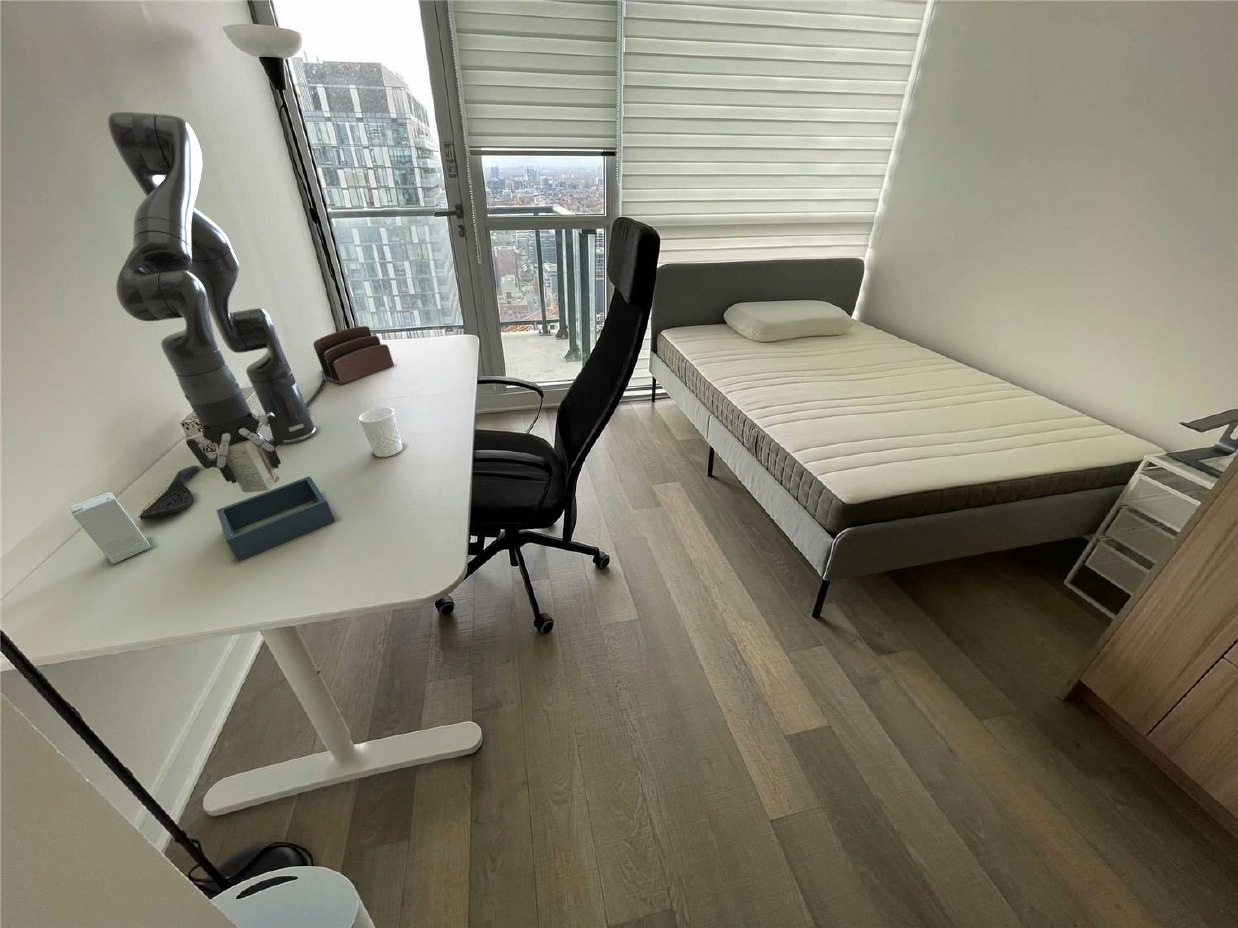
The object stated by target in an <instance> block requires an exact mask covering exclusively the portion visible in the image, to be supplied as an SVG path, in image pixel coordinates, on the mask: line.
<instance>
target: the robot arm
mask: <svg viewBox="0 0 1238 928" xmlns="http://www.w3.org/2000/svg"><path fill="white" fill-rule="evenodd" d="M107 128H108V131H109V135H110V137H111V140H112V142H113V144H114V146H115V148H116V151H117V152H118V155H119V156H120V158H121V160H122V161H123V163H124V164H125V166H126V167H127V169H128V171H129V173H130V174H131V175H132V177H133V178H134V180H135V181H136V184H137V185H138V186H139V188H140V189H141V191H142V192H143V194H144V195H145V198H143V200H142V201H141V202H140V203H139V205H138V207H137V208H136V211H135V214H134V216H133V217H134V218H133V234H132V235H133V236H132V238H133V239H132V241H133V243H132V244H133V246H132V249H131V250H130V252H129V253H128V255H127V258H126V259H125V261H124V263H123V265H122V267H121V269H120V271H119V273H118V276H117V278H116V279H117V280H116V285H115V290H116V291H115V292H116V296H117V300H118V303H119V304H120V306H121V307H122V309H123V310H124V311H125V313H127V314H128V315H129V316H131V317H132V318H134V319H137V320H138V321H141V322H159V321H167V320H175V319H176V320H177V319H184V322H185V329H183V330H180V331H177V332H174V333H171V334H169V335H167V336H164V338H162V339H161V341H160V346H161V349H162V352H163V353H164V355H165V357H166V359H167V361H168V362H169V365H170V366H171V368H172V370H173V372H174V374H175V376H176V378H177V381H178V383H179V386H180V389H181V391H182V392H183V395H184V398H185V399H186V400H187V401H188V403H189V405H190V407H191V409H192V410H193V412H194V414H195V416H196V418H197V420H198V422H199V424H200V425H201V428H202V431H201V432H200V433H197V434H194V435H191V434H189V435H186V436H185V437H184V439H185V440H184V441H185V443H186V445H187V447H188V448H189V449H190V451H191V452H192V454H193V455H194V456H195V457H196V459H197V460H198V462H199V463H200V464H201V466H202V467H203V468H204V469H206V470H209V469H211V468H217V469H218V470H219V471H220V473H221V475H222V477H223V478H224V480H225V482H227V483H230V482H231V484H236V483H238V482H237V481H236V479H235V477H234V475H233V473H232V472H231V470H230V468H229V466H228V464H227V463H226V457H227V454H228V448H229V446H231V445H234V444H237V443H240V442H243V441H246V440H251V441H253V442H254V443H256V444H257V445H259V446H261V447H263V448H264V449H265V450H266V452H267V454H268V456H269V458H270V460H271V462H272V464H273V466H274V468H275V470H276V469H279V468H280V467H279V465H281V463H282V461H281V459H280V457H279V455H278V452H277V451H276V450H277V448H278V447H279V446H282V445H283V444H293V443H298V442H302V441H305V440H307V439H309V438H311V437H313V435H315V434H316V432H317V429H316V426H315V424H314V421H313V420H312V418H311V415H310V412H309V410H308V406H309V405H310V404H311V403H312V402H313V400H314V399H315V398H316V397H317V396H318V395H319V393H320V392H321V390H322V388H323V386H324V384H325V380H326V378H325V375H324V372H323V369H322V368H321V369H322V378H321V379H322V380H321V382H320V384H319V387H318V388H317V390H316V391H315V392H314V394H313V395H312V396H311V397H310V398H309V400H308V401H306V402H305V401H304V398H303V395H302V393H301V391H300V388H299V386H298V384H297V381H296V379H295V376H294V373H293V372H292V369H291V367H290V365H289V362H288V360H287V357H286V355H285V353H284V351H283V348H282V344H281V342H280V339H279V335H278V333H277V331H276V327H275V324H274V322H273V319H272V318H271V316H270V314H269V313H268V311H267V310H265V309H264V308H261V307H258V308H250V309H245V310H244V309H243V310H238V311H233V312H229V304H230V298H231V295H232V292H233V290H234V288H235V285H236V283H237V281H238V280H237V279H238V277H239V272H240V264H239V260H238V258H237V255H236V253H235V251H234V249H233V247H232V244H231V242H230V240H229V237H228V236H227V234H226V233H225V232H224V231H223V230H222V229H221V227H219V226H218V225H217V224H216V223H215V222H214V221H213V220H212V219H210V218H209V217H208V216H207V215H205V214H203V212H202V211H200V210H199V209H197V208H196V204H197V199H198V196H199V195H198V193H199V190H200V186H201V181H202V176H203V169H204V168H203V166H204V164H203V155H202V153H203V152H202V150H201V146H200V143H199V141H198V137H197V135H196V134H195V132H194V129H192V126H191V125H190V124H189V122H187V121H186V120H185V119H184V118H182V117H181V116H180V117H179V116H177V115H171V114H164V113H152V112H151V113H150V112H138V111H137V112H135V111H114V112H111V113H110V114H109V115H108V118H107ZM210 315H211V316H210ZM211 317H212V320H213V322H214V324H215V327H216V328H217V331H218V332H219V335H220V337H221V339H222V340H223V342H224V344H225V345H226V347H227V348H228V350H230V351H231V352H233V353H236V354H243V353H248V352H253V351H259V350H263V349H264V350H265V349H266V350H267V351H266V352H265V353H264V355H262V357H260V358H259V359H257V360H256V361H254V362H252V363H251V364H249V365H248V366H247V367H246V369H245V372H246V375H247V378H248V380H249V382H250V384H251V386H252V388H253V391H254V393H255V395H256V397H257V399H258V401H259V403H260V405H261V407H262V410H263V411H264V415H257V416H256V415H255V414H254V413H253V412H252V410H251V408H250V406H249V404H248V402H247V400H246V398H245V396H244V393H243V391H242V390H241V387H240V383H239V382H238V381H237V379H236V377H235V375H234V373H233V371H232V370H231V369H230V368H229V366H228V364H227V362H226V360H225V359H224V356H223V354H222V352H221V350H220V347H219V346H218V343H217V341H216V339H215V335H214V331H213V326H212V321H211ZM261 423H262V424H263V425H264V426H265V427H267V428H269V429H270V432H271V435H272V438H270V440H269V439H267V438H265V437H264V436H263V435H262V434H260V433H259V432H257V431H258V429H259V425H260V424H261ZM255 434H258V436H257V435H255ZM256 439H257V440H256ZM204 440H206V441H207V440H208V441H209V442H210V443H211V442H212V443H213V444H216V446H215V457H209V455H207V453H206V452H205V450H204V449H203V447H204V445H205V443H204ZM219 446H220V447H219ZM218 447H219V448H218Z"/></svg>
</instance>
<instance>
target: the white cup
mask: <svg viewBox="0 0 1238 928" xmlns="http://www.w3.org/2000/svg"><path fill="white" fill-rule="evenodd" d="M358 420H359V423H360V425H361V427H362V430H363V433H364V435H365V438H366V439H367V442H368V444H369V445H370V448H371V450H372V452H373V454H374V456H375V457H378V458H387V457H391V456H395V455H396V454H398V453H400V452H401V451H402V450H403V442H402V439H401V433H400V428H399V425H398V421H397V417H396V413H395V410H394V408H392V407H385V406H383V407H376V408H372V409H369V410H366V411H364V412H363V413H361V414H360V415H359V417H358Z"/></svg>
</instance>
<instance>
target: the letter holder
mask: <svg viewBox="0 0 1238 928" xmlns="http://www.w3.org/2000/svg"><path fill="white" fill-rule="evenodd" d="M313 349H314V351H315V353H316V356H317V358H318V361H319V364H320V367H321V369H323V370H322V373H323V372H324V375H325V380H326V381H330V382H332V383H335V384H338V385H341V386H342V385H345V384H347V383H350V382H353V381H356V380H358V379H361V378H363V377H366V376H369V375H371V374H374V373H377V372H379V371H382V370H385V369H388V368H390V367H393V366H395V363H394V360H393V358H392V357H393V356H392V354H391V351H390V348H389V345H388V344H382V343H381V340H380V337H379V336H378V335H373V334H372V331H371V328H370V327H369V326H367V325H362V326H354V327H350V328H345V329H342V330H338V331H335V332H333V333H330V334H327V335H324V336H322V337H319V338H318V339H315V341H314V342H313Z"/></svg>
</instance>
